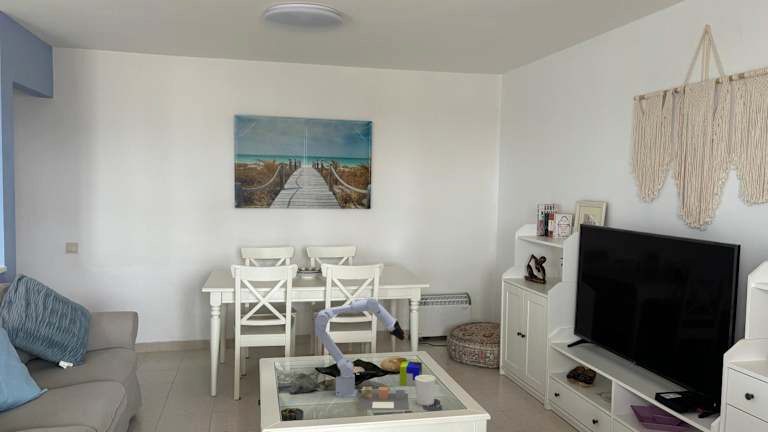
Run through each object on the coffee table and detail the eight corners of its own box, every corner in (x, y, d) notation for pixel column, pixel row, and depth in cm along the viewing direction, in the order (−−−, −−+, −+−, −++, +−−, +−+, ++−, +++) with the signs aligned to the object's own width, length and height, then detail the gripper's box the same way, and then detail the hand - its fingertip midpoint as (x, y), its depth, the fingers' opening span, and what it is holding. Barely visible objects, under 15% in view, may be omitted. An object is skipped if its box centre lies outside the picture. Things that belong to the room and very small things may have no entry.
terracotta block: (378, 399, 280) (378, 389, 280) (379, 395, 284) (379, 386, 284) (388, 399, 280) (388, 389, 280) (388, 395, 284) (388, 386, 284)
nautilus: (420, 369, 330) (415, 379, 315) (383, 365, 335) (377, 374, 320) (421, 356, 329) (416, 365, 315) (384, 351, 334) (378, 360, 319)
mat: (356, 410, 266) (356, 409, 266) (359, 393, 288) (359, 393, 288) (408, 410, 266) (408, 409, 266) (407, 394, 288) (407, 393, 288)
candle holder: (421, 407, 269) (421, 382, 269) (411, 401, 278) (411, 376, 277) (439, 404, 274) (439, 379, 273) (428, 398, 282) (428, 373, 282)
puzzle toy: (419, 387, 299) (419, 367, 299) (400, 385, 301) (400, 366, 301) (421, 380, 309) (421, 362, 308) (403, 379, 311) (403, 361, 310)
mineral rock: (320, 390, 294) (320, 370, 293) (310, 397, 284) (310, 377, 283) (297, 387, 298) (297, 368, 298) (287, 394, 288) (287, 374, 288)
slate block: (395, 399, 280) (395, 390, 280) (395, 396, 284) (395, 386, 284) (404, 399, 280) (404, 390, 280) (404, 396, 284) (404, 387, 284)
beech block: (362, 399, 280) (362, 389, 280) (362, 395, 285) (362, 386, 284) (371, 399, 280) (371, 389, 280) (371, 395, 284) (371, 386, 284)
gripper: (390, 315, 279) (409, 335, 279) (390, 308, 293) (408, 328, 294) (379, 324, 279) (398, 345, 280) (380, 318, 294) (398, 337, 294)
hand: (403, 337), depth 287 cm, fingers open, 7 cm apart
